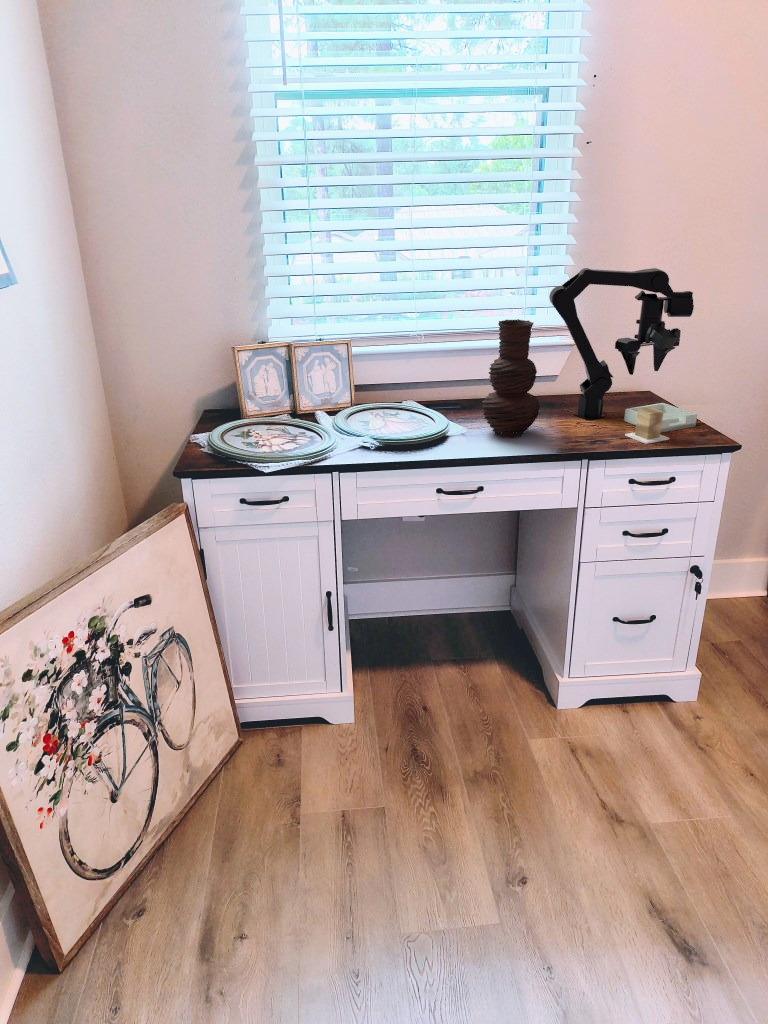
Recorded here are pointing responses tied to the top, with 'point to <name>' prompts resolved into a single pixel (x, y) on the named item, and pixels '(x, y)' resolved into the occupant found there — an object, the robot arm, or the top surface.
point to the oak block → (649, 423)
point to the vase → (512, 382)
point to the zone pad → (632, 435)
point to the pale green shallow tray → (665, 416)
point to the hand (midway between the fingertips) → (643, 372)
